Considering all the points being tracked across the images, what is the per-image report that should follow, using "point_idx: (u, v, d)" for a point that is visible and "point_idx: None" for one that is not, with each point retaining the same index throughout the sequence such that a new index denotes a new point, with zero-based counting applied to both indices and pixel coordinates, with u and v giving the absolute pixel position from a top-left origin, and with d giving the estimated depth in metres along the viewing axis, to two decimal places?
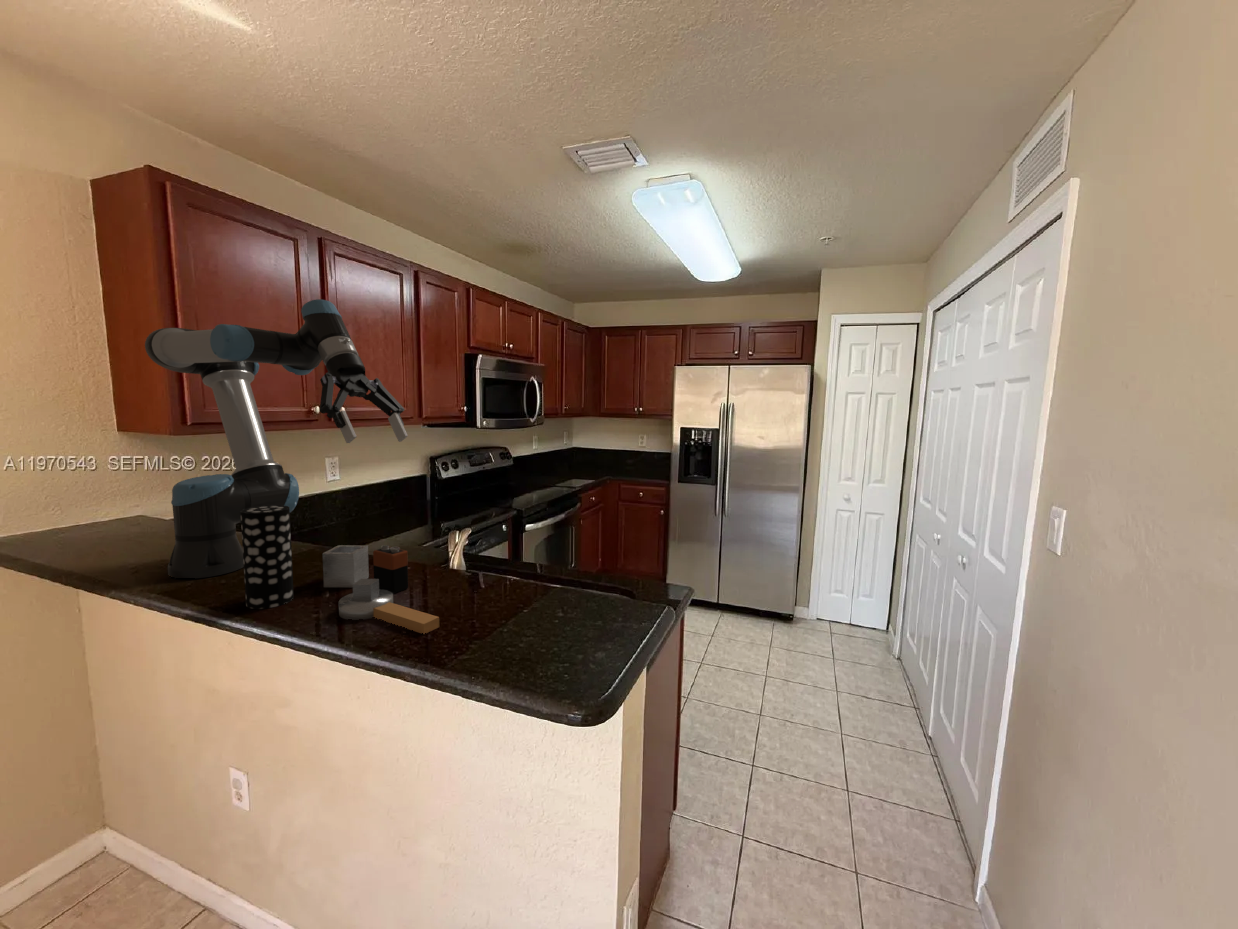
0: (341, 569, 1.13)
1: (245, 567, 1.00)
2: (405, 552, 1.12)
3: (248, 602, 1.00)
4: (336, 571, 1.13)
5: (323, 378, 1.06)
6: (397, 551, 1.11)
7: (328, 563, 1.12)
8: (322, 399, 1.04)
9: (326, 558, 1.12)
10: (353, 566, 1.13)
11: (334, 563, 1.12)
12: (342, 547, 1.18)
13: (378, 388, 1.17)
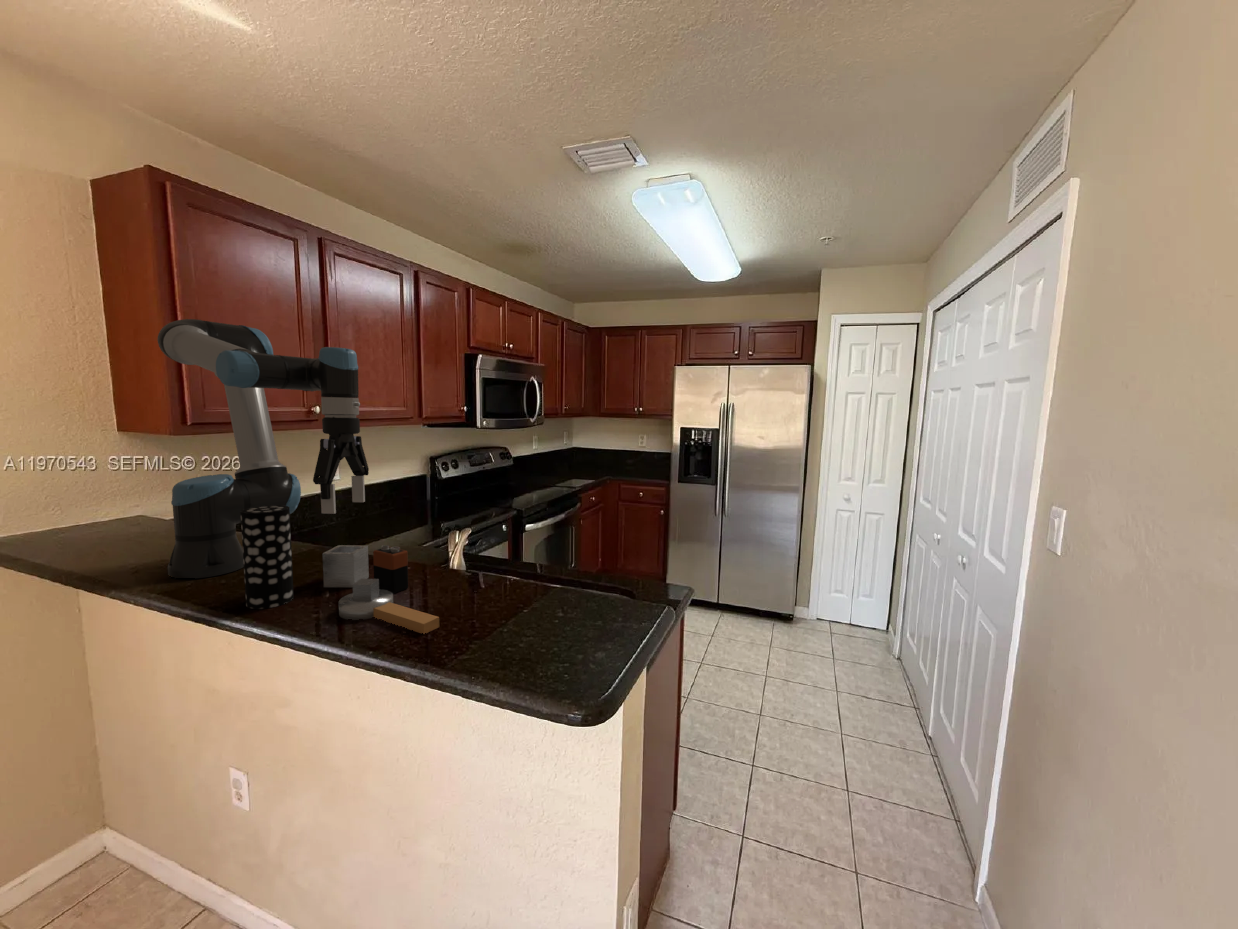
0: (341, 569, 1.13)
1: (245, 567, 1.00)
2: (405, 552, 1.12)
3: (248, 602, 1.00)
4: (336, 571, 1.13)
5: (325, 442, 1.06)
6: (397, 551, 1.11)
7: (328, 563, 1.12)
8: (319, 468, 1.04)
9: (326, 558, 1.12)
10: (353, 566, 1.13)
11: (334, 563, 1.12)
12: (342, 547, 1.18)
13: (357, 446, 1.19)
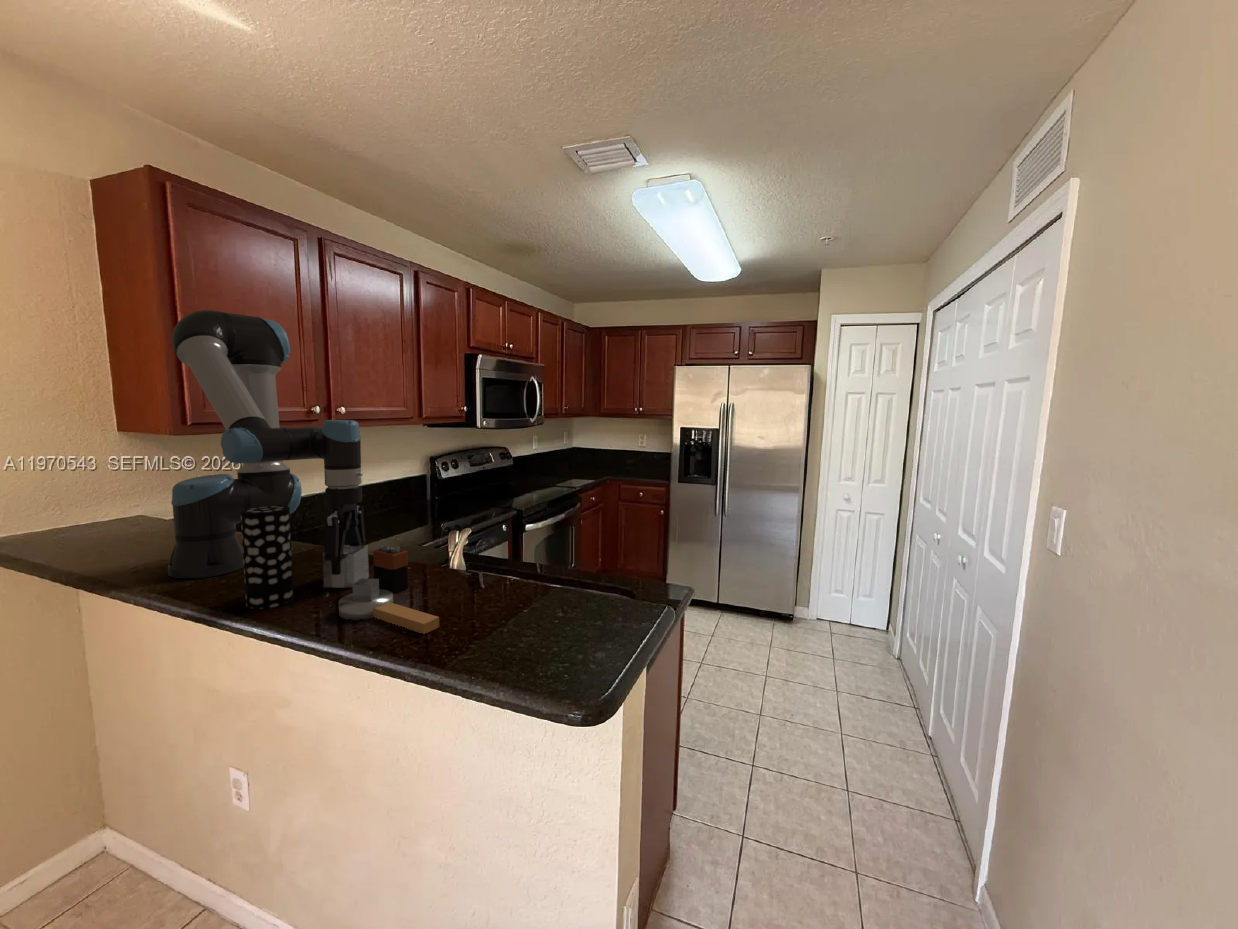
0: None
1: (245, 567, 1.00)
2: (405, 552, 1.12)
3: (248, 602, 1.00)
4: None
5: (329, 521, 1.08)
6: (397, 551, 1.11)
7: (328, 563, 1.12)
8: (328, 546, 1.09)
9: None
10: (353, 566, 1.13)
11: None
12: None
13: (358, 516, 1.20)
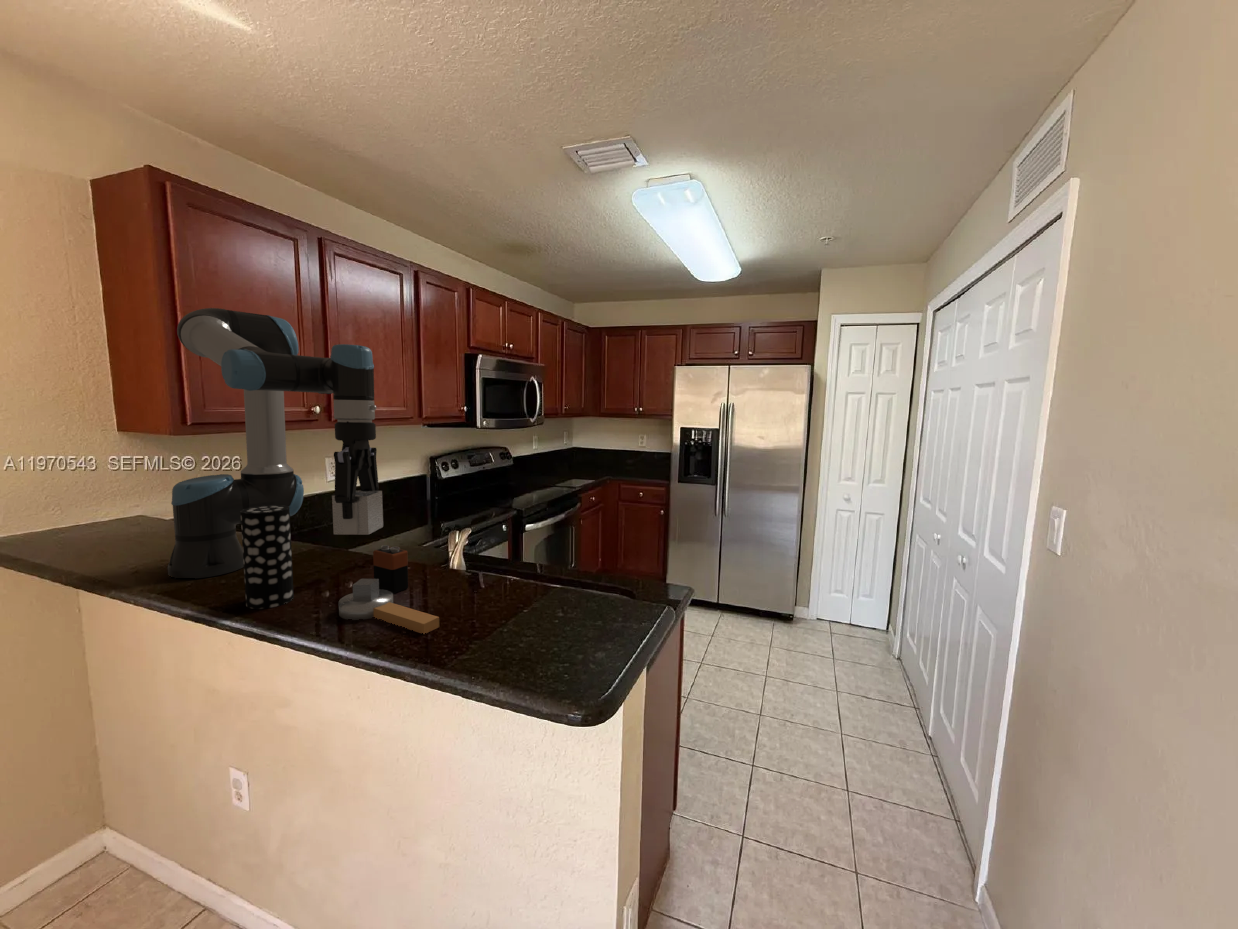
0: None
1: (245, 567, 1.00)
2: (405, 552, 1.12)
3: (248, 602, 1.00)
4: None
5: (339, 457, 0.95)
6: (397, 551, 1.11)
7: (338, 507, 1.00)
8: (338, 486, 0.96)
9: None
10: (367, 510, 1.00)
11: None
12: None
13: (370, 458, 1.07)
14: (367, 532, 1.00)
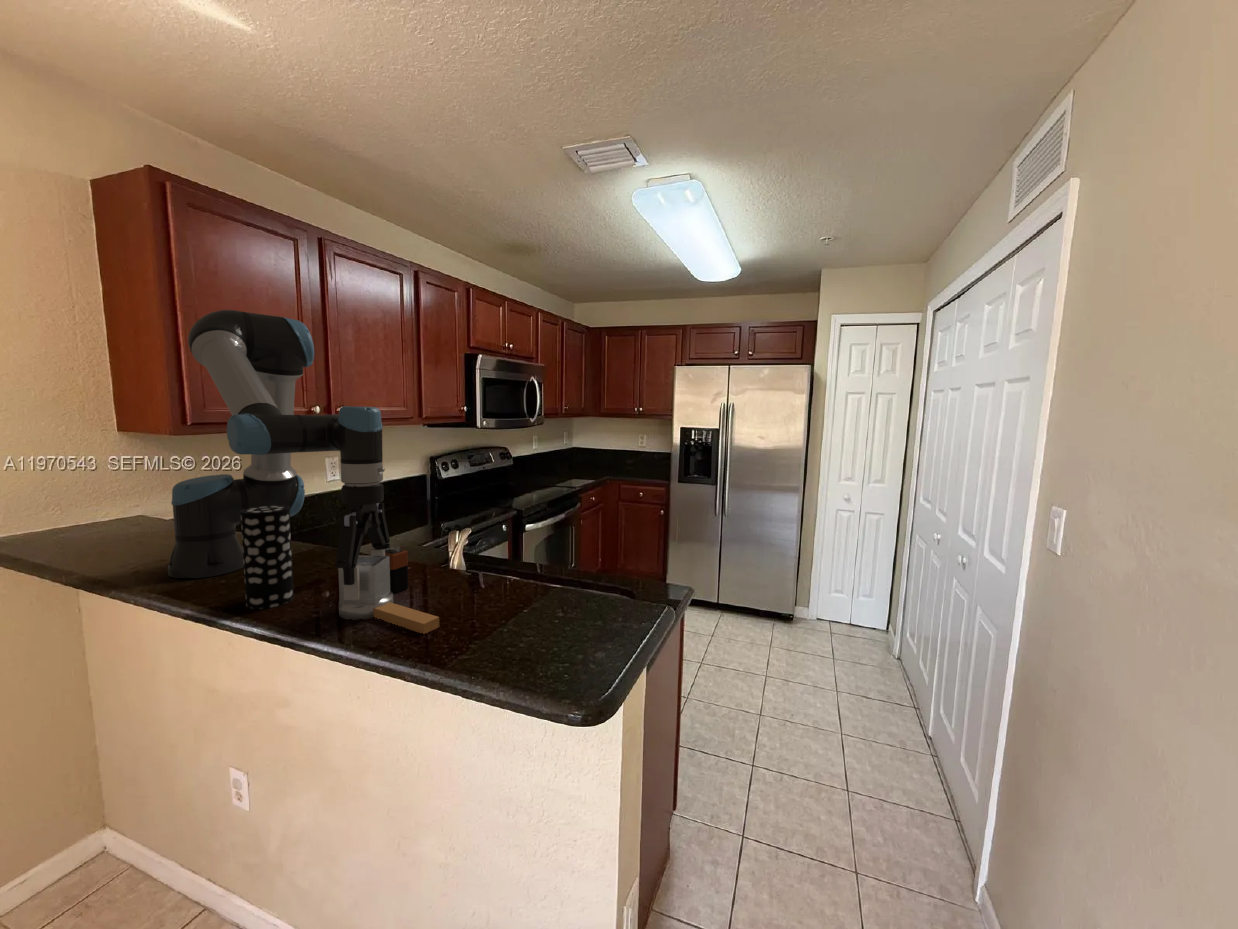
0: None
1: (245, 567, 1.00)
2: (405, 552, 1.12)
3: (248, 602, 1.00)
4: None
5: (346, 520, 0.92)
6: (397, 551, 1.11)
7: None
8: (341, 551, 0.91)
9: (342, 571, 0.97)
10: (374, 580, 0.97)
11: None
12: (360, 558, 1.03)
13: (379, 515, 1.05)
14: (374, 602, 0.98)
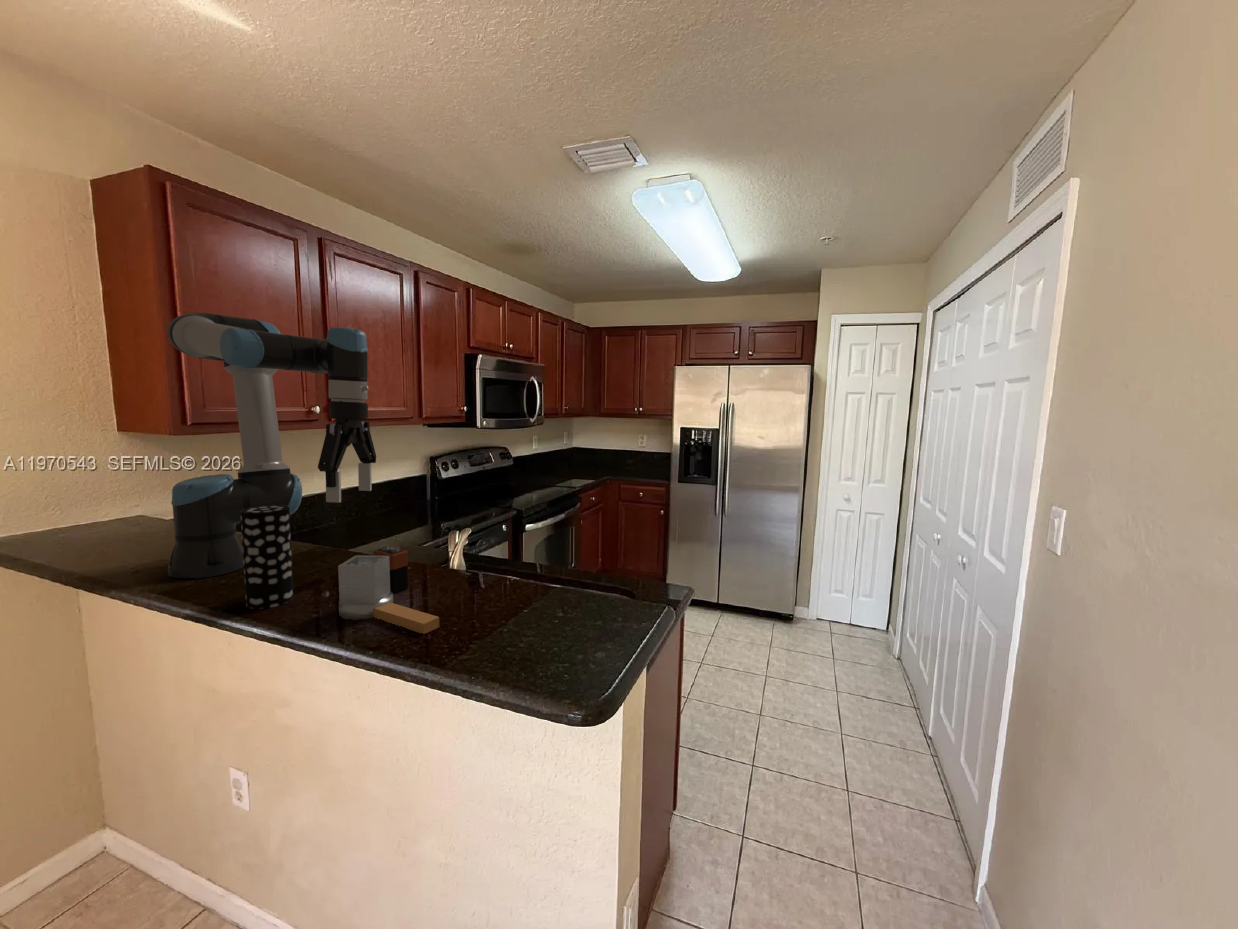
0: (359, 583, 0.97)
1: (245, 567, 1.00)
2: (405, 552, 1.12)
3: (248, 602, 1.00)
4: (354, 586, 0.97)
5: (331, 428, 1.01)
6: (397, 551, 1.11)
7: (345, 577, 0.97)
8: (324, 454, 0.99)
9: (342, 571, 0.97)
10: (374, 580, 0.97)
11: (352, 577, 0.97)
12: (360, 558, 1.03)
13: (364, 433, 1.14)
14: (374, 602, 0.98)
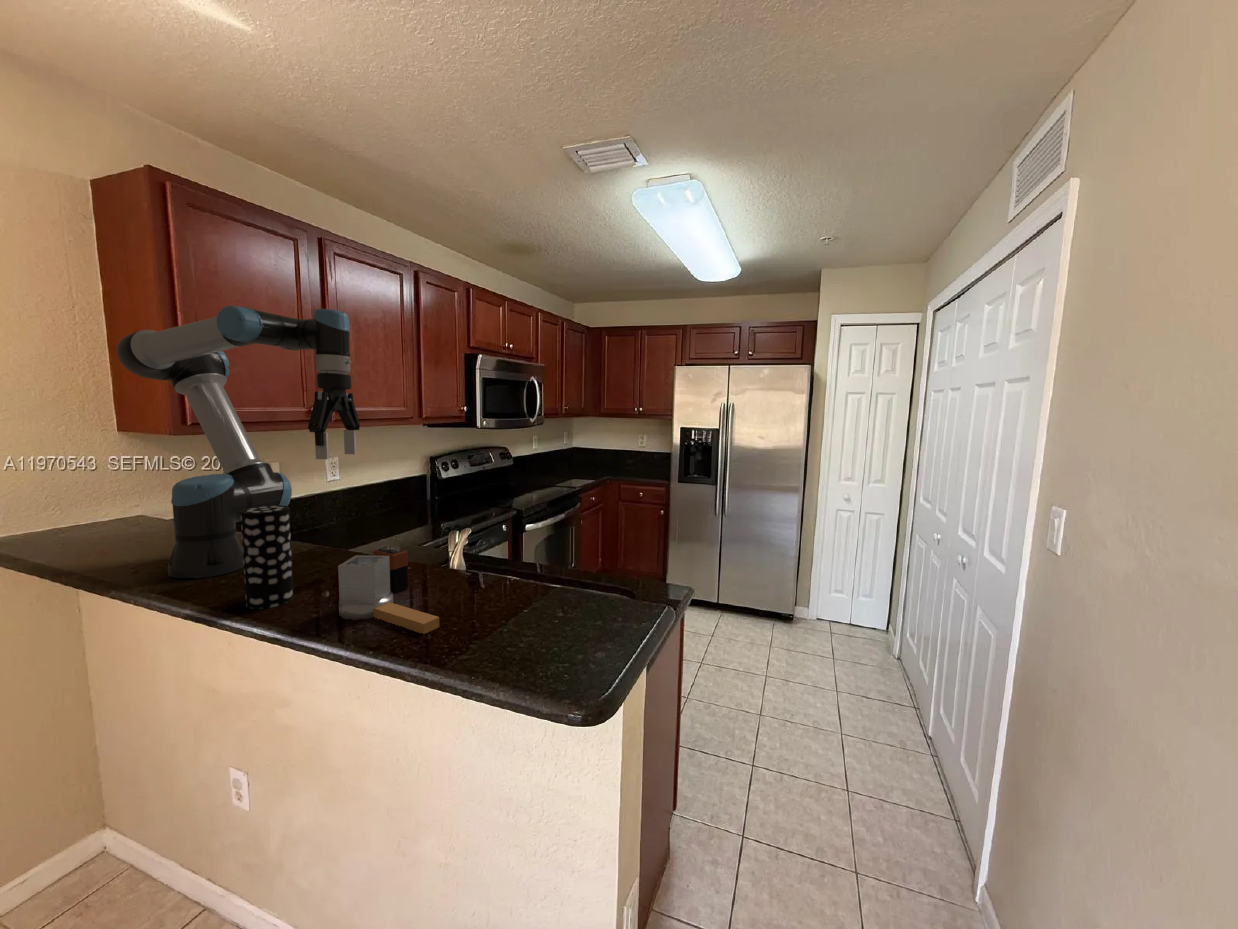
0: (359, 583, 0.97)
1: (245, 567, 1.00)
2: (405, 552, 1.12)
3: (248, 602, 1.00)
4: (354, 586, 0.97)
5: (319, 394, 1.17)
6: (397, 551, 1.11)
7: (345, 577, 0.97)
8: (313, 416, 1.16)
9: (342, 571, 0.97)
10: (374, 580, 0.97)
11: (352, 577, 0.97)
12: (360, 558, 1.03)
13: (349, 403, 1.30)
14: (374, 602, 0.98)
